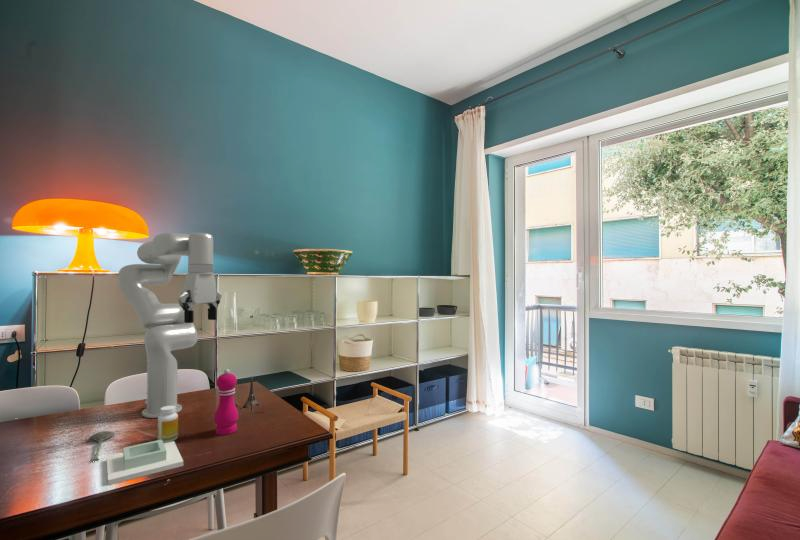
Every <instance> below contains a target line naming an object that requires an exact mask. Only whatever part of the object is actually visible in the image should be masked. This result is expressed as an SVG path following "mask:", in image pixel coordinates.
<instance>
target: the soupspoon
mask: <svg viewBox="0 0 800 540" xmlns="http://www.w3.org/2000/svg"><path fill="white" fill-rule="evenodd" d="M115 434H116V432H114V431H109V430H104V431H103V430H102V431H99V432H96V433H93V434H92V435H91V436H89V437H88V439H89V440H93V441H94V440H95V441H98V442H97V447H96V452H95V454H94V457H92V458H91V460H90V463H91V462H92V463H96V462H95V461H98V460H99V461H100V459H99V455H100V454H99V453H100V450H101V447H102V443H103V441H104V440H106V439H108V438H111V437H113V436H114V435H115ZM93 461H94V462H93ZM99 461H98V462H99Z"/></svg>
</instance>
